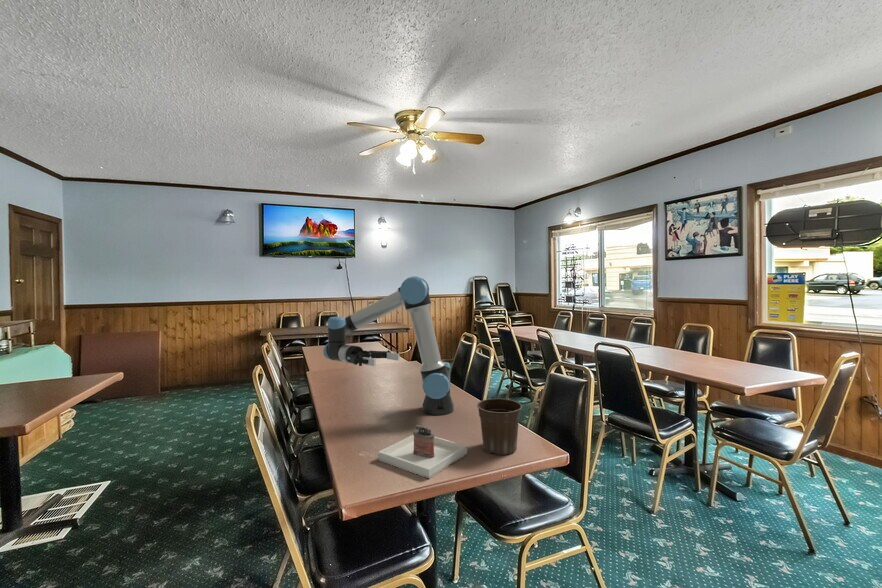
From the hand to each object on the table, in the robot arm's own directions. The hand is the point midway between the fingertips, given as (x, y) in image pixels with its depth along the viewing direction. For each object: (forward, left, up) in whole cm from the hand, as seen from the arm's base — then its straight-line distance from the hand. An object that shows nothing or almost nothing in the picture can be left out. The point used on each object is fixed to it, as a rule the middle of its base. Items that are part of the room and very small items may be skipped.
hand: (387, 359), depth 155 cm
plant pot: (-14, +43, -30) cm, 54 cm away
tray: (+8, +25, -30) cm, 40 cm away
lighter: (+8, +25, -29) cm, 39 cm away
